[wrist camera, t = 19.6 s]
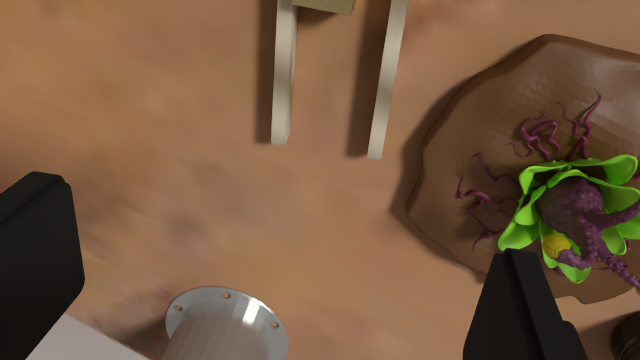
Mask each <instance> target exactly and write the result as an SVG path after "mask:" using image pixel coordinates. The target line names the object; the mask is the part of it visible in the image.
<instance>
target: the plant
mask: <svg viewBox="0 0 640 360" xmlns="http://www.w3.org/2000/svg"><path fill="white" fill-rule="evenodd" d="M406 211H407V217H409V218H410V219H411V220H412V221H413V222H414V223H415V224H416V226H417V227H418V228H419V229H420V230H421V231H422V232H423V233H424V234H425V235H427V236H428V237H429V238H431V239H432V240H434V241H435V242H437V243H438V244H440V245H441V246H442V247H444V248H445V249H446V250H447V251H448V252H449V253H450V254H451V255H452V256H453V257H454V258H455V259H456V260H457V261H459V262H460V263H462V264H464V265H466V266H468V267H471V268H473V269H475V270H478V271H481V272H484V273H487V274H488V271H489V268H490V265H491V262H492V259H493V256H494V255H495V253H501V254H503V252H504V250H505V249H506V248H513V249H519V250H526V251H532V252H535V253H536V254H537V256H538V258H539V261H540V263H541V266H542V268H543V271H544V274H545V276H546V279H547V281H548V284H549V286H550V289H551V291H552V294H553V297H554V299H555V298H559V297H564V296H574V297H576V298H577V299H578V300H579V301H580V302H581V303H583V304H591V303H595V302H600V301H604V300H607V299H611V298H614V297H616V296H619V295H621V294H623V293H625V292H627V291H629V290H630V289H632V288H633V287H635V288H636V291H637V293H638V294H639V295H640V55H639V54H635V53H631V52H627V51H623V50H618V49H614V48H609V47H605V46H600V45H597V44H593V43H590V42H587V41H583V40H580V39H576V38H572V37H567V36H561V35H556V34H544V35H541V36H539V37H537V38H536V39H535V40H534V41H532V42H531V43H529V44H528V45H527V46H525V47H524V48H523V49H521V50H520V51H519V52H517V53H516V54H514V55H513V56H512V57H510V58H509V59H507V60H506V61H504V62H502V63H500V64H498V65H496V66H494V67H491V68H488V69H486V70H484V71H482V72H480V73H478V74H477V75H476V76H474V77H473V78H472V79H471V80H470V81H468V82H467V83H466V84H465V85H464V86H463V87H462V88H460V89H459V90H458V92H457V93H456V94H455V95H454V96H453V98H452V99H451V100H450V102H449V103H448V105H447V106H446V108H445V109H444V111H443V112H442V113H441V115H440V116H439V117H438V119H437V120H436V121H435V123H434V124H433V125H432V127H431V128H430V129H429V131H428V132H427V134H426V135H425V137H424V139H423V142H422V170H421V173H420V175H419V178H418V181H417V183H416V186H415V188H414V190H413V192H412V194H411V195H410V197H409V198H408V200H407V202H406Z"/></svg>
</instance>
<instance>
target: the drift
mask: <svg viewBox="0 0 640 360" xmlns="http://www.w3.org/2000/svg"><path fill="white" fill-rule="evenodd" d="M355 3H356V0H292V4H293V5H298V6H303V7H308V8H313V9H318V10H323V11H328V12H333V13H338V14H344V15H349V16H351V13H352V11H353V9H354V6H355Z"/></svg>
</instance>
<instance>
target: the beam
mask: <svg viewBox="0 0 640 360" xmlns="http://www.w3.org/2000/svg"><path fill="white" fill-rule="evenodd" d="M407 6H408V0H392V1H391V7H390V13H389V20H388V26H387V33H386V39H385V45H384V52H383V58H382V65H381V71H380V77H379V84H378V90H377V96H376V103H375V109H374V116H373V122H372V128H371V135H370V141H369V148H368V154H367V158H371V159H377V160H381V156H382V150H383V145H384V139H385V133H386V127H387V122H388V116H389V110H390V104H391V98H392V93H393V87H394V81H395V75H396V69H397V64H398V58H399V52H400V46H401V40H402V35H403V29H404V23H405V17H406V12H407ZM298 7H299V6H298V5H293V4H292V0H278V2H277V23H276V45H275V66H274V88H273V109H272V131H271V143H272V144H279V145H285V143H286V141H287V139H288V137H289V135H290V126H291V111H292V96H293V81H294V66H295V52H296V37H297V22H298Z"/></svg>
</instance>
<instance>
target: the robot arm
mask: <svg viewBox="0 0 640 360" xmlns="http://www.w3.org/2000/svg"><path fill="white" fill-rule="evenodd" d="M84 281H85V276H84V269H83V262H82V256H81V249H80V243H79V236H78V230H77V223H76V217H75V210H74V203H73V197H72V190H71V187H70V185H69V184H68V183H65V181H64V179H63V177H61V176H60V175H55V174H49V173H43V172H37V171H36V172H31V173H29V174H27V175H26V176H25V177H23V178H22V179H20V180H19V181H18V182H16V183H15V184H14V185H12V186H11V187H9V188H8V189H7V190H5V191H4V192H2V193H1V194H0V360H25V359H26V358H27V357H28V356H29V354H30V353H31V352H32V351H33V350H34V348H35V347H36V346H37V345H38V344H39V342H40V341H41V340H42V339H43V338H44V336H45V335H46V334H47V333H48V331H49V330H50V329H51V328H52V326H53V325H54V324H55V323H56V322H57V321H58V319H59V318H60V317H61V316H62V315H63V313H64V312H65V311H66V310H67V308H68V307H69V306H70V305H71V304H72V302H73V301H74V300H75V299H76V298H77V296H78V295H79V294H80V292H81V291H82V289H83V286H84ZM223 292H227V293H229V294H230V297H225V296H223V294H222V293H223ZM175 305H180V306H181V307H182V308H183V309H177V308H176V307H175ZM271 322H276V323H277V324H278V325H279V326H277V327H274V326H272V325H271ZM165 325H166V331H167V334H168V337H169V339H170V340H169V342H168V344H167V346H166V348H165V350H164V352H163V354H162V355H161V357H160V359H159V360H284V359H285V358H286V356H287V352H288V348H289V339H288V334H287V331H286V328H285V326H284V324H283V323H282V321H281V319H280V318H279V317H278V316H277V315H276V313H275V312H274V311H273V310H272V309H271V308H269V307H268V306H267V305H266V304H265V303H263V302H262V301H260V300H258V299H257V298H255V297H253V296H251V295H249V294H247V293H245V292H242V291H239V290H236V289H232V288H228V287H220V286H203V287H198V288H193V289H191V290H188V291H186V292H184V293H182V294H181V295H179V296H178V297H176V298H175V299H174V300H173V301H172V303H171V304H170V306H169V308H168V310H167V313H166V318H165ZM463 360H588V358H587V355H586V353H585V350H584V348H583V346H582V343H581V341H580V338H579V336H578V333H577V331H576V329H575V327H574V326H573V324H571V323H570V322H569V321H563V320H562V317H561V314H560V312H559V309H558V307H557V304H556V302H555V299H554V297H553V294H552V291H551V289H550V286H549V284H548V281H547V279H546V276H545V274H544V271H543V268H542V266H541V263H540V261H539V258H538V256H537V254H536V253H535V252H532V251H526V250H519V249H513V248H506V249H505V250H504V252H503V254H501V253H495V255H494V256H493V259H492V262H491V265H490V268H489V271H488V274H487V277H486V280H485V283H484V286H483V289H482V292H481V295H480V298H479V301H478V304H477V307H476V310H475V314H474V317H473V320H472V323H471V326H470V329H469V332H468V335H467V338H466V341H465V344H464V349H463Z"/></svg>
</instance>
